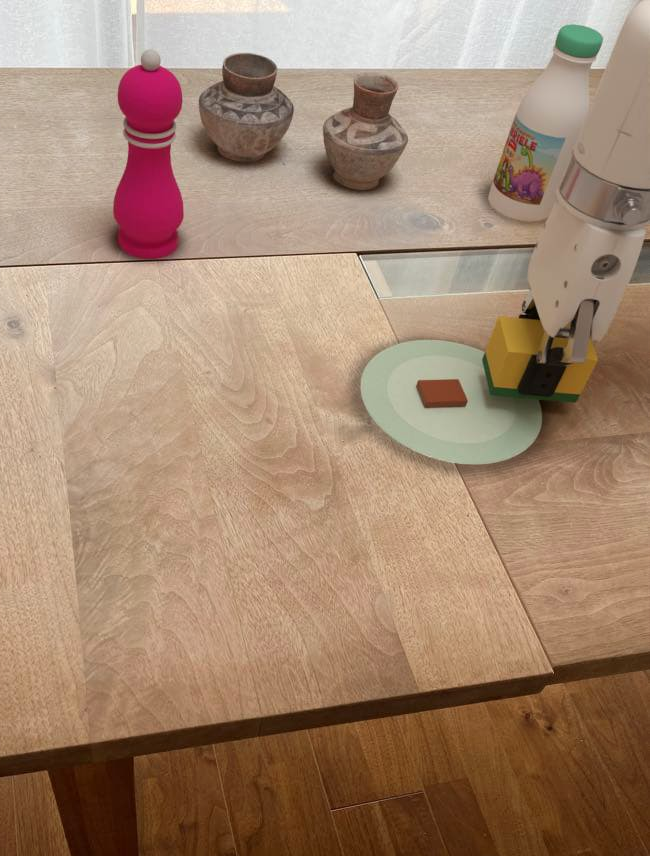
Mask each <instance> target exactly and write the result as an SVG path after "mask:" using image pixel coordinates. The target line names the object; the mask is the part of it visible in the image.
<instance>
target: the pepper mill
mask: <svg viewBox="0 0 650 856" xmlns="http://www.w3.org/2000/svg"><path fill="white" fill-rule="evenodd" d="M117 87H118V88H117V104H118V107H119V109H120V111H121V113H122V115H124V119H123V121H122V125H123V131H122V133H123V134H122V135H123V137H124V139H125V140H126V141H127V147H128V149H127V161H126V164H125V168H124V171H123V174H122V175H121V178H120V180H119V183H118V185H117V187H116V190H115V193H114V197H113V205H112V212H113V214H112V215H113V219H114V220H115V222H116V224H117V225H118V226H119V229H118V233H117V234H118V235H117V238H118V246H119V247H120V249H121V250H122V251H123V252H125V253H126V254H128V255H130V256H132V257H135V258H138V259H144V260H156V259H157V260H159V259H162V258H167V257H168V256H170V255H172V254H173V253H174V252H175V251H176V250H177V248H178V245H179V235H178V234H179V232H178V231H177V230H178V229H179V228H180V227H181V225H182V223H183V221H184V215H185V213H184V212H185V211H184V201H183V200H184V199H183V196H182V192H181V189H180V188H179V187H180V186H179V185H178V182H177V180H176V177H175V174H174V171H173V166H172V158H171V157H172V156H171V151H172V150H171V148H172V143H174V142H175V141H176V138H177V133H176V130H177V123H176V121H175V119H176V118H178V116H179V115H180V113H181V112H182V111H181V110H182V109H183V101H184V100H183V89H182V86H181V84H180V81H179V80H178V78H177V76H176V75H175V74H174V73H173V72H172V71H171V70H169V69H168V68H166V67H164V66H161V56H160V54H159V52H158V51H157V50H155V49H152V48H148V49H145V50H144V51H143V52H142V53H141V56H140V64H138V65H135V66H133V67H131V68H130V69H128V70H127V71H126V72H125V73H124V74H123V75H122V77H121V79H120V81H119V84H118V86H117Z"/></svg>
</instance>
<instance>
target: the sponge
mask: <svg viewBox="0 0 650 856" xmlns="http://www.w3.org/2000/svg"><path fill="white" fill-rule="evenodd" d="M570 325H571V323H569V324H568V325H566V326H565V327H570ZM543 333H544V328H543V326H542V323H541V320H534V319H523V318H518V317H513V316H512V317H511V316H502V315H499V316H498V317H497V319H496V322H495V326H494V328H493V330H492V333H491V335H490V338H489V341H488V344H487V346H486V348H485V350H484V352H485V353H484V356H483V358H482V362H483V366H484V370H485V375H486V379H487V383H488V387H489V391H490V395H493V396H504V397H515V398H527V399H538V401H552V402H563V403H574V404H576V403H577V402H578V400H579V398H580V397H581V394H582V392H583V391H584V389H585V386H586V384H587V382H588V380H589V379H590V377H591V375H592V373H593V371H594V369H595V367H596V366H597V363H598V361H599V358H598V355H597V352H596V350H595V347H594V345H593V342H592V341H591V339H590V336H589V342H588V348H587V354H586V359H585V362H584V363H583V364H571V366H569V367H568V366H567V368H566V370H565V372H564V374H563V376H562V378H561V380H560V382H559V384H558V386H557V388H556V390H555V392H554V394H553V395H552V396H550V397H543V396H532V395H521V394H519V393H518V389H517V387H518V385H519V383H520V380H521V378H522V376H523V374H524V371H525V369H526V367H527V365H528V363H529V360H530V358H531V356H532V355H537V353H538V350H539V346H540V343H541V340H542V337H543ZM567 340H568V338H559V337H554V340H553V343H552V346H551V349H552V348H555V347H565V346H566V343H567Z"/></svg>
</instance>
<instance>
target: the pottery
mask: <svg viewBox="0 0 650 856" xmlns="http://www.w3.org/2000/svg"><path fill="white" fill-rule="evenodd" d="M221 73H222V74H221V75H222V80H221V81H218V82H216V83H214V84H213V85H210V86H209V87H207V88H206V89H205V90H204V91H202V92H201V93H200V95H199V97H198V112H199V116H200V120H201V124H202V126H203V128H204V130H205V132H206V134H207V135H208V136H209V138H210V139H211V140H212V142H213V143H214V144H215V145H216V146H217V151H218V153H219V155H221V156H222V157H224V158H226V159H229V160H232V161H234V162H240V163H250V162H257V161H259V160H261V159H263V158H264V157H265V156H266V154H267V153H268V152H270V151H271V150H272V149H274V148H275V147H276V145H278V143H280V142H281V140H282V139H283V138H284V136H285V135H286V134H287V132H288V130H289V128H290V126H291V123H292V121H293V117H294V113H295V106H294V104H293V102H292V101H291V100H290V98H289V97H288V96H287V95H286V93H284V92H283V91H281V89H280V88H278V87H276V86H275V82H276V79H277V74H278V66H277V64H276V63H275V62H274V60H271V59H270V58H268V57H267V56H264V55H261V54H257V53H252V52H237V53H233V54H229V55H227V56H226V57H225V58H224V59H223V62H222V71H221ZM398 90H399V83H398V81H396V80H395V79H394V78H392V77H391V76H389V75H387V74H383V73H377V72H362V73H359V74H356V75H355V76H354V78H353V98H352V99H353V101H352V106H351V107H348V108H345V109H342V110H340V111H338V112H336V113H334V114H332V115H331V116H329V117H328V118H327V119H325V121H324V123H323V125H322V136H323V137H322V138H323V145H324V150H325V154H326V157H327V160H328V162H329V164H330V166H331V167H332V168H333V170H334V171H333V179H334V180H335V181H336V182H337V183H338V184H339V185H341V186H342V187H343V186H344V187H345V188H348V189H351V190H357V191H367V190H372V189H375V187H377V186H378V185H379V183H380V182H379V181H380V179H381V178H383V177H384V176H385V175H387V174H388V173H389V172H390V171H391V170H392V169H393V168H394V167H395V165H396V164H397V162H398V161H399V159H400V158H401V156H402V154H403V152H404V151H405V149H406V147H407V145H408V142H409V137H408V134H407V132H406V130H405V129H404V127H403V126H402V125H401V124H400V122H399V121H397V120H396V118H394V117H393V116H392V115H391V114H390V110H391V107H392V104H393V102H394V99H395V96H396V94H397V92H398Z"/></svg>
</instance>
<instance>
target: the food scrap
mask: <svg viewBox="0 0 650 856" xmlns="http://www.w3.org/2000/svg"><path fill="white" fill-rule="evenodd" d="M416 387H417V390H418V392H419V395H420V398H421V400H422V403H423V405H424V408H441V407H466V404H467V402H468V400H467V397H466V395H465V393H464V391H463V388H462V386H461V384H460V382H459V380H458V379H445V380H418V382H417V385H416Z"/></svg>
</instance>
